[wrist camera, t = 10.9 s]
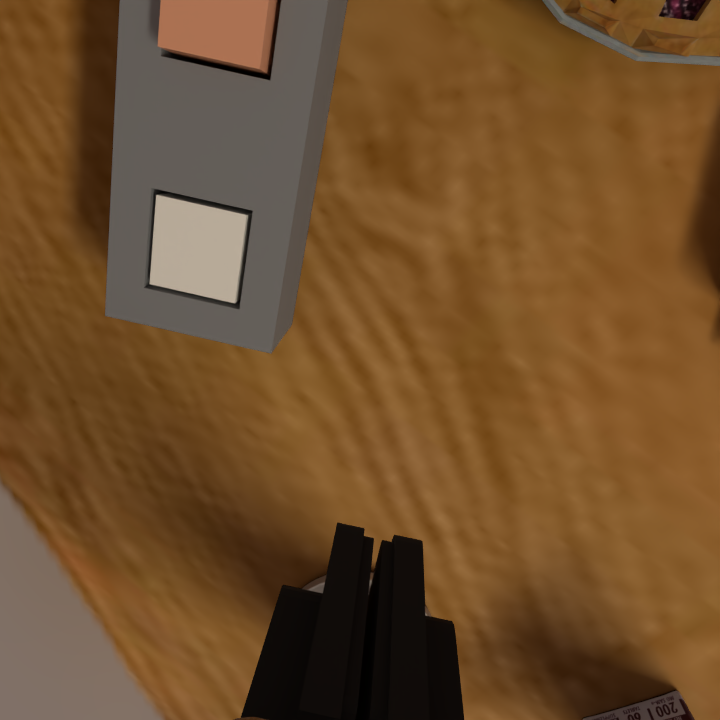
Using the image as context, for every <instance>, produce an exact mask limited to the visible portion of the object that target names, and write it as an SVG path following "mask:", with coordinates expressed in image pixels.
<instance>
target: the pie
mask: <svg viewBox="0 0 720 720" xmlns="http://www.w3.org/2000/svg"><path fill="white" fill-rule="evenodd" d="M542 1H543V2H544V3H545V5H546V6H547V7H548V8H549V10H550V11H551V12H552V14H553V15H554V16H555V17H556V19H557V20H558V21H559V23H561V24H563V25H565V26H567V27H569V28H571V29H573V30H575V31H577V32H579V33H581V34H583V35H585V36H587V37H589V38H591V39H593V40H595V41H597V42H599V43H601V44H603V45H605V46H607V47H609V48H611V49H613V50H615V51H617V52H619V53H621V54H623V55H625V56H627V57H629V58H631V59H633V60H635V61H650V62H667V63H683V64H699V65H716V66H720V0H542Z"/></svg>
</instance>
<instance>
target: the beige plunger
mask: <svg viewBox="0 0 720 720" xmlns="http://www.w3.org/2000/svg"><path fill="white" fill-rule="evenodd" d="M252 213H253V211H252V210H247V209H243V208H238V207H234V206H230V205H225V204H221V203H216V202H212V201H207V200H203V199H198V198H194V197H190V196H185V195H181V194H176V193H165V194H158V195H156V205H155V218H154V232H153V245H152V259H151V272H150V284H151V285H156V286H160V287H165V288H169V289H174V290H178V291H182V292H187V293H191V294H196V295H200V296H204V297H209V298H213V299H218V300H222V301H226V302H231V303H236V302H237V301H238V300H240V299H241V294H242V287H243V279H244V272H245V264H246V257H247V250H248V242H249V235H250V228H251V220H252Z"/></svg>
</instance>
